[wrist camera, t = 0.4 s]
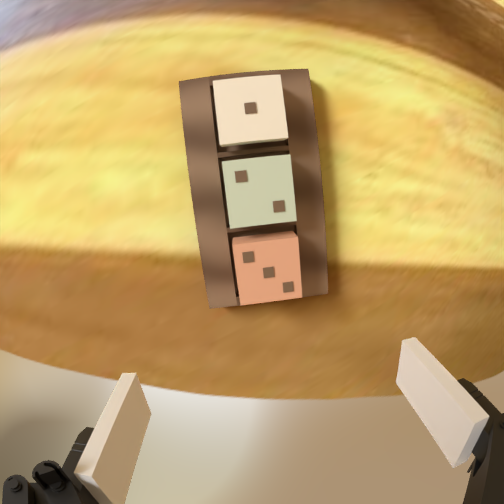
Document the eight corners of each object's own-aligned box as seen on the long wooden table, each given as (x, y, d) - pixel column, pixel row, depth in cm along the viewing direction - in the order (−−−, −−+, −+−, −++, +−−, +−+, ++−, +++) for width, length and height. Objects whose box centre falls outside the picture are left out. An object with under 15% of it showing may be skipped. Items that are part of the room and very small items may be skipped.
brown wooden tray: (182, 86, 29) (178, 81, 27) (303, 74, 30) (308, 68, 27) (211, 300, 36) (209, 308, 34) (323, 286, 36) (328, 293, 34)
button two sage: (223, 162, 29) (221, 161, 26) (285, 155, 29) (290, 154, 26) (230, 222, 31) (230, 228, 28) (291, 215, 31) (296, 221, 28)
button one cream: (214, 88, 27) (212, 80, 24) (276, 82, 28) (280, 74, 25) (221, 147, 29) (219, 144, 26) (283, 140, 29) (288, 137, 26)
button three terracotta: (232, 237, 31) (232, 245, 28) (292, 230, 31) (298, 237, 28) (240, 293, 33) (240, 305, 30) (296, 286, 33) (302, 297, 30)
